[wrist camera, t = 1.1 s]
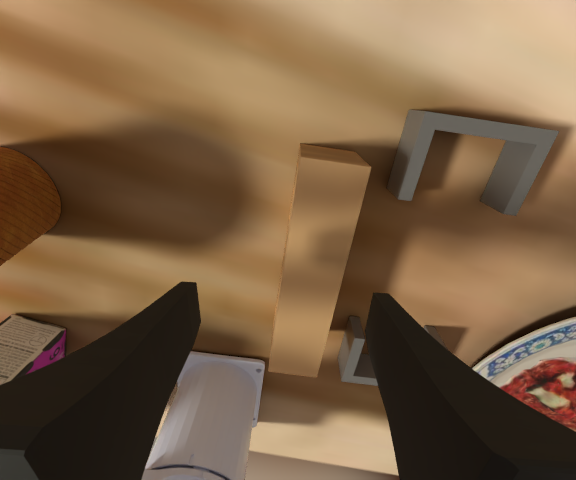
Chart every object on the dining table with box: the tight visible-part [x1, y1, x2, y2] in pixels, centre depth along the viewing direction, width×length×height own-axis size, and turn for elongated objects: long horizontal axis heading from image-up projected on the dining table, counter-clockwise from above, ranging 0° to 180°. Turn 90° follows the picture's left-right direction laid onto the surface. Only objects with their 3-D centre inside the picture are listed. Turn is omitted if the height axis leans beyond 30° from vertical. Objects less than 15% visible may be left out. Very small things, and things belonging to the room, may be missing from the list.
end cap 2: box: [387, 110, 559, 216], centre depth 17 cm, size 5×7×2 cm, turn 82°
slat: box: [268, 143, 371, 378], centre depth 20 cm, size 15×4×5 cm, turn 172°
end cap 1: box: [338, 316, 448, 386], centre depth 24 cm, size 5×7×2 cm, turn 82°
